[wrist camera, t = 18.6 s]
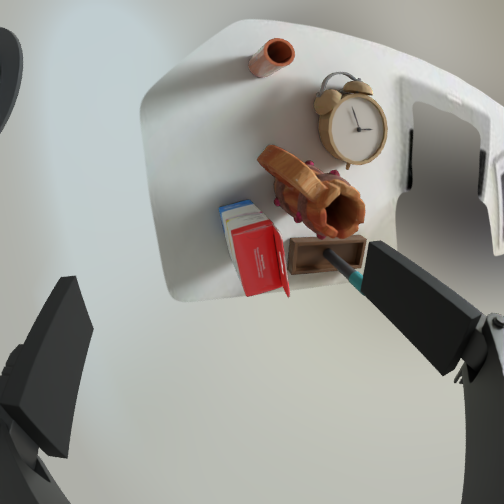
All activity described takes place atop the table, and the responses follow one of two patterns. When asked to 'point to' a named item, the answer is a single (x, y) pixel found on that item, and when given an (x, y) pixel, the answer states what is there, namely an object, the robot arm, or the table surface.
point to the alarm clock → (351, 122)
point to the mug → (313, 194)
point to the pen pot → (271, 57)
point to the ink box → (254, 248)
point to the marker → (344, 268)
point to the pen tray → (311, 253)
